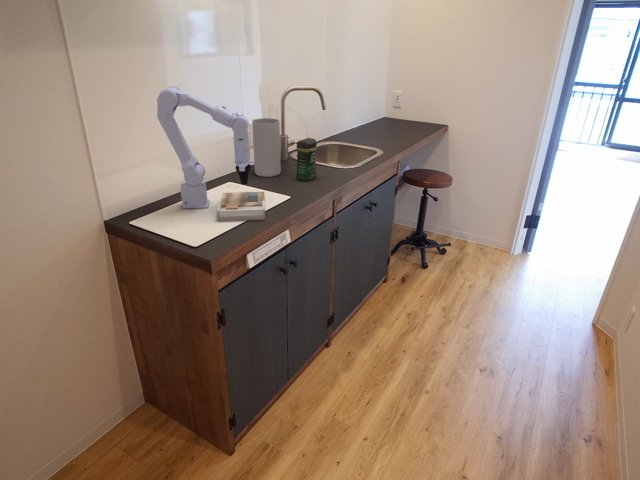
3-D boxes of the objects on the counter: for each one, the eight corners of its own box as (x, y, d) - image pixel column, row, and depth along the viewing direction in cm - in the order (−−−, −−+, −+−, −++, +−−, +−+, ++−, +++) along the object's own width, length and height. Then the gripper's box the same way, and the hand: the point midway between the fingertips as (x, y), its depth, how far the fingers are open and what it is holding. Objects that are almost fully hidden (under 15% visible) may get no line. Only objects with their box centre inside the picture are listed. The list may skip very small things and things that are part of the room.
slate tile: (247, 201, 162) (247, 195, 161) (247, 198, 165) (247, 192, 164) (258, 201, 162) (257, 195, 161) (258, 197, 166) (257, 191, 165)
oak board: (220, 211, 159) (219, 205, 158) (222, 198, 171) (222, 192, 170) (264, 210, 161) (264, 204, 160) (264, 197, 173) (264, 191, 172)
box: (218, 221, 151) (216, 211, 149) (220, 211, 159) (219, 201, 157) (265, 219, 153) (264, 209, 151) (264, 210, 161) (264, 200, 159)
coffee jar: (308, 182, 192) (308, 142, 183) (293, 179, 195) (293, 139, 187) (318, 177, 199) (319, 138, 191) (305, 174, 203) (305, 135, 194)
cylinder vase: (278, 168, 210) (276, 117, 199) (282, 176, 199) (281, 123, 188) (253, 170, 207) (250, 118, 196) (256, 178, 196) (253, 123, 185)
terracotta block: (226, 214, 152) (225, 208, 151) (227, 210, 156) (226, 204, 155) (237, 214, 153) (237, 207, 152) (238, 209, 156) (237, 203, 155)
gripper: (252, 154, 150) (254, 189, 156) (253, 144, 163) (255, 177, 169) (232, 154, 150) (235, 190, 156) (235, 144, 163) (237, 178, 169)
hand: (244, 183), depth 162 cm, fingers closed
